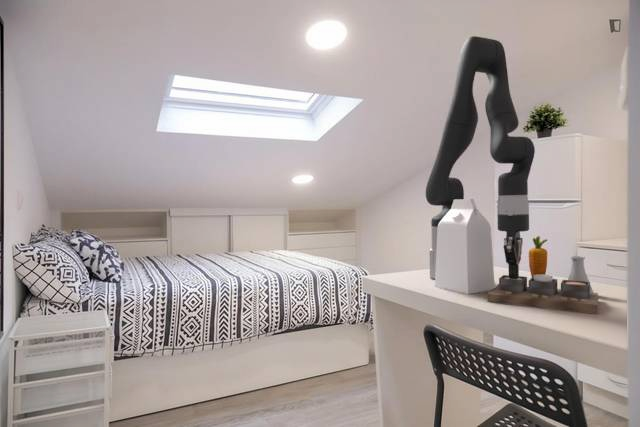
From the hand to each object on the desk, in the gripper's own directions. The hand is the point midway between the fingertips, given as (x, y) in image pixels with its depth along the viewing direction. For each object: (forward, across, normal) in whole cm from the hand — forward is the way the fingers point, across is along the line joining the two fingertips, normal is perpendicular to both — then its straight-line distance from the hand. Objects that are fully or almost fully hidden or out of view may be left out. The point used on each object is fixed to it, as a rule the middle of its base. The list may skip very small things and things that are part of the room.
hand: (513, 278), depth 108 cm
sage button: (+2, 0, 0) cm, 2 cm away
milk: (+5, -5, -14) cm, 16 cm away
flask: (+5, -12, +14) cm, 19 cm away
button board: (+5, +2, +7) cm, 9 cm away
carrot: (+5, -16, +4) cm, 17 cm away
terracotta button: (+2, 0, +14) cm, 14 cm away
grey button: (+1, 0, +7) cm, 7 cm away
